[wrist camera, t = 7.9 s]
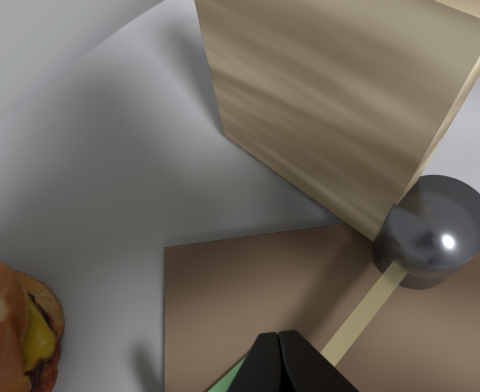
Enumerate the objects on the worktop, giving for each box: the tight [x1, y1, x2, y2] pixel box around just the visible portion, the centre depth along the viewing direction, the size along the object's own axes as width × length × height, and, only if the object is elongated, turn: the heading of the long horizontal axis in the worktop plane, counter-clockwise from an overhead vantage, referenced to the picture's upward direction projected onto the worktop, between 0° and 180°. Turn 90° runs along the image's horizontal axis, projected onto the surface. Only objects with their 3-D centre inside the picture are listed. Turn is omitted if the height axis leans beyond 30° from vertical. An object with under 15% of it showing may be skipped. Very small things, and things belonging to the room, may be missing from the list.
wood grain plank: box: [194, 0, 480, 367], centre depth 13 cm, size 13×14×12 cm
